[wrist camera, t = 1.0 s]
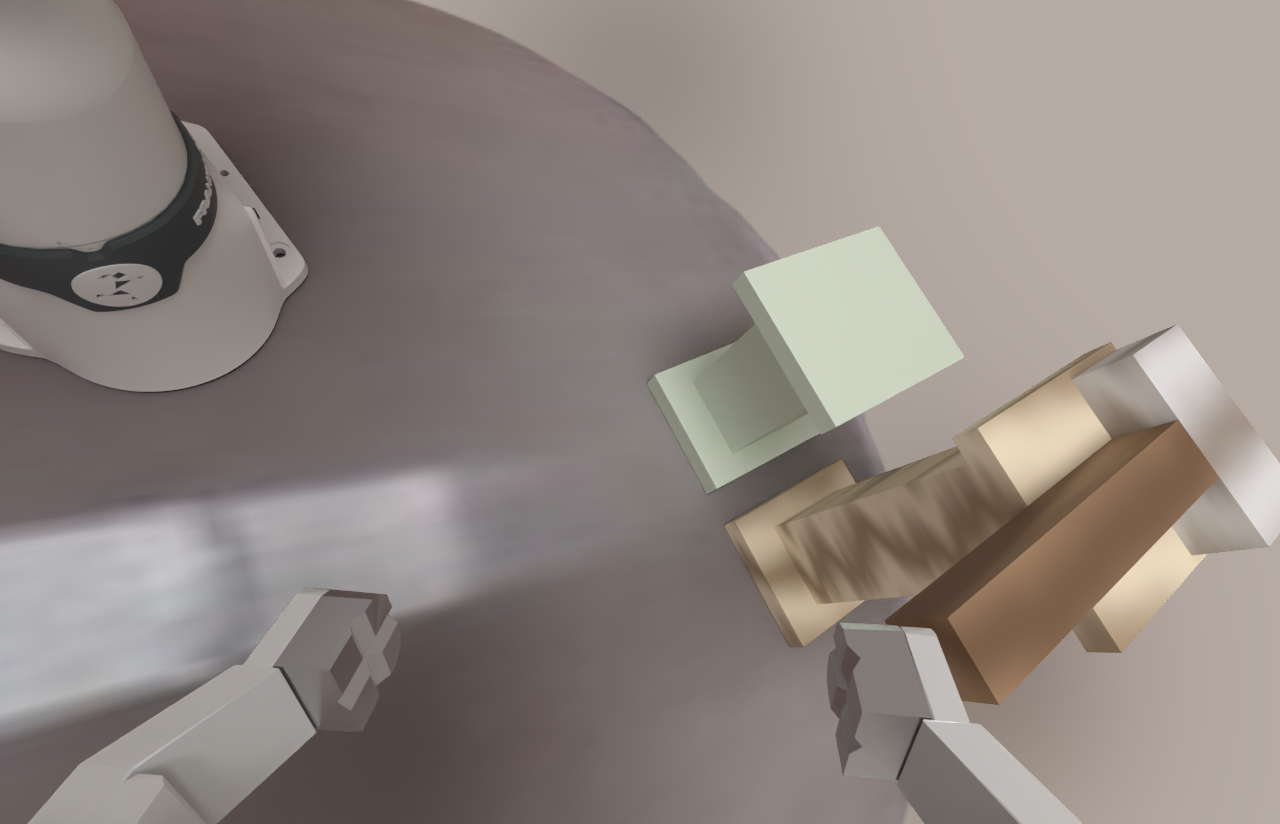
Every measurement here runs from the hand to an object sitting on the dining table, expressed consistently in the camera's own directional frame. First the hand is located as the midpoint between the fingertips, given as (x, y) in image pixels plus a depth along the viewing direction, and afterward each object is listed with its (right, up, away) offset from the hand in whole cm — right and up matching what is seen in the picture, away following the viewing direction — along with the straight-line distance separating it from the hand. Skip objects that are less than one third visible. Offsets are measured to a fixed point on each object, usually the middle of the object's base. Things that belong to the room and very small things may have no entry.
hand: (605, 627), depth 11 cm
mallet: (+20, -1, +16) cm, 26 cm away
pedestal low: (+9, +4, +44) cm, 45 cm away
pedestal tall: (+16, -8, +41) cm, 45 cm away
